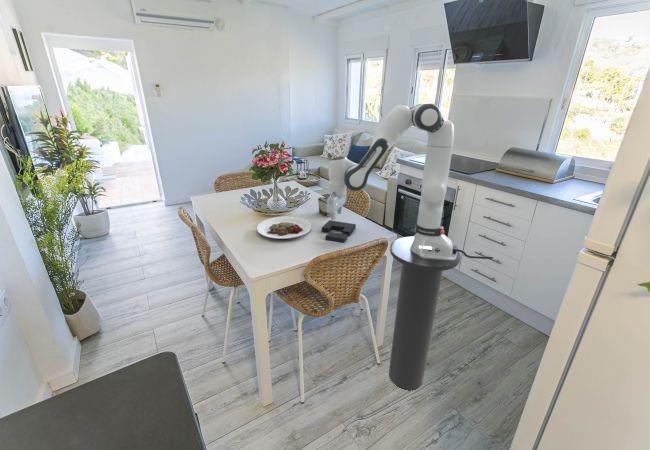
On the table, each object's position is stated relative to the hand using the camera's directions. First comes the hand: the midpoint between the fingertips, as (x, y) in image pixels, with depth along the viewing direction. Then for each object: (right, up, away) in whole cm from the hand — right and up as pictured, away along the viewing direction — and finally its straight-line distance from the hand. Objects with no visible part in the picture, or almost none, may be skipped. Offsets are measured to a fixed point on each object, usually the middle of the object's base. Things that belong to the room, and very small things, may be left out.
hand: (336, 216), depth 159 cm
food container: (-4, +2, +40) cm, 41 cm away
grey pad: (0, -12, +5) cm, 13 cm away
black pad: (+2, -7, +17) cm, 19 cm away
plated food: (-28, -7, +16) cm, 33 cm away
